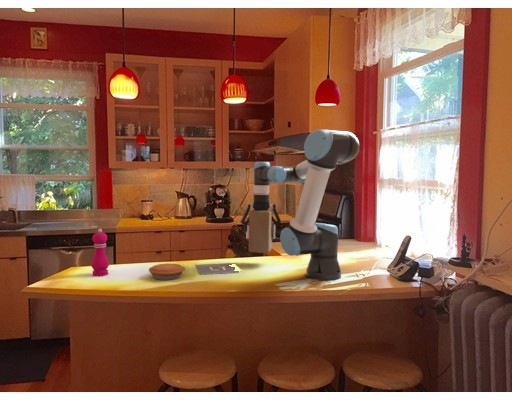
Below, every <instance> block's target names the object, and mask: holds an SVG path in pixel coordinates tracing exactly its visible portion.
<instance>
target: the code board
mask: <svg viewBox="0 0 512 400" xmlns="http://www.w3.org/2000/svg"><path fill="white" fill-rule="evenodd" d="M235 263H236V262H229V263H208V264H207V263H205V264H204V263H203V264H195V267H196V269H197V271H198V274H199V275H200V276H201V275H204V276H205V275H220V274H221V275H222V274H224V275H225V274H226V275H227V274H240V273H239V271H234V270H235V267H231V266H229V265H232V264H235Z"/></svg>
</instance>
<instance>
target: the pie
mask: <svg viewBox="0 0 512 400" xmlns="http://www.w3.org/2000/svg"><path fill="white" fill-rule="evenodd" d="M148 271H149V272H148V273H150V274H151V275H152V277H153V279H155V280H159V281H171V280H176V279H179V278H181V277H182V275H183V273H184V272H185V271H186V267H185V266H184V265H181V264H179V263H160V264H159V263H158V264H155V265H153V266H151V267H149V268H148Z"/></svg>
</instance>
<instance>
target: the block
mask: <svg viewBox="0 0 512 400" xmlns="http://www.w3.org/2000/svg"><path fill="white" fill-rule="evenodd" d="M272 216H273V217H274V213H273V210H272V209H268V211H265V210H259V211H255V210H254V209H251V210H250V211H249V213H248V217H249V223H248V225H249V239H248V252H249V253H256V254H257V253H258V254H269V253H270V252H271V251H272V249H273V238H272V224H273V222H272Z"/></svg>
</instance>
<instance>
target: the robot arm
mask: <svg viewBox="0 0 512 400" xmlns="http://www.w3.org/2000/svg"><path fill="white" fill-rule="evenodd" d="M303 150H304V152H303V153H304V155H305V157H306V159H305V160H303V161H302V162H300V163H299V164H298V163H297V164H296V165H294V166H283V165H282V166H281V165H271V163H270V161H256V162H255V163H254V166H253V167H254V168H253V204H251V203H250V204H249V203H247V204H246V209H245V211H244V213H243V216H242V218H241V220H240V224H242V225H243V227H244V228H243V232H244V233H245V236H246V237H245V238H246V239H247V240H249V212H250V211H251V210H252V208H253V210H255V211H259V210H265V211H268V210H272V211H273V216H272V239H276V232H278V226H279V224H281V223H282V221H281V218H280V216H279V214H278V210H277V209H276V208H277V207H276V204H274V203H272V204H271V203H270V195H269V194H270V183H273V184H279V183H298V184H301V183H304V184H303V187H302V191H301V194H300V197H299V202H298V205H297V209H296V212H295V217H294V218H293V219H290V220H289V224H288V227H283V229H282V230H281V232H280V235H279V238H280V239H279V241H280V244H281V248H282V250H283V252H284V253H286V254H287V255H288V256H296V257H299V256H304V255H310V257H309V258H310V259H309V262H308V264H307V267H306V269H305V270H306V271H305V275H306V276H307V277H308V278H310V279H315V280H321V281H322V280H325V281H326V280H328V281H329V280H331V281H332V280H337V279H340V278H342V270H341V266H340V263H339V260H338V254H339V253H338V251H339V250H338V249H339V247H338V246H339V228H338V226H337V225H334V224H331V223H330V224H329V223H328V224H327V223H322V222H316V220H317V218H318V216H319V212H320V208H321V205H322V201H323V197H324V194H325V190H326V187H327V184H328V180H329V178H330V175H331V172H332V171H333V170H335V169H336V168H337V165H344V164H346V163H349V162H350V161H352V160H354V159H355V158H356V157H357V155H359V152H360V142H359V139H358V137H356V135H355V134H354V133H352V132H350V131H347V130H346V131H345V130H332V129H326V128H325V129H315V130H313V131H312V132H310V133H309V135H307V137H306V138H305V140H304V145H303ZM274 217H275V218H274Z"/></svg>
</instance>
